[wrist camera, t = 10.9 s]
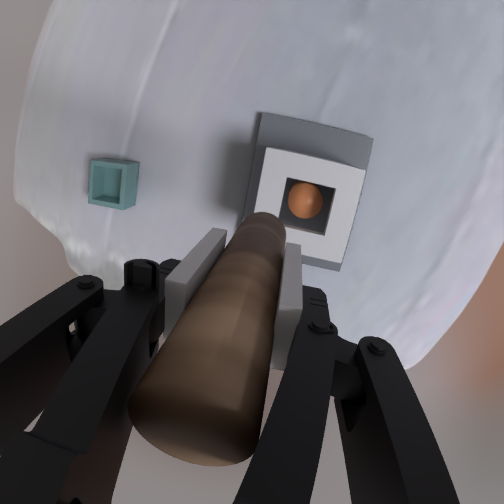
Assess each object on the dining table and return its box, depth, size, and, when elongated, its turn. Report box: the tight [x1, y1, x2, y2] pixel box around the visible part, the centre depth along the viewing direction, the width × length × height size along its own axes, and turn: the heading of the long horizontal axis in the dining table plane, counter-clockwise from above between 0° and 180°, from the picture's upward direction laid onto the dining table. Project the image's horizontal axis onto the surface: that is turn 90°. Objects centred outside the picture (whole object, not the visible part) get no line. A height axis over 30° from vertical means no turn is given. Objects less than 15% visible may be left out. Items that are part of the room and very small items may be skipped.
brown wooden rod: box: [127, 212, 286, 466], centre depth 14 cm, size 3×3×16 cm
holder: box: [88, 158, 139, 210], centre depth 40 cm, size 6×6×4 cm
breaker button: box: [288, 180, 323, 218], centre depth 36 cm, size 4×4×4 cm
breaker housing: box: [242, 113, 373, 272], centre depth 35 cm, size 18×14×9 cm
